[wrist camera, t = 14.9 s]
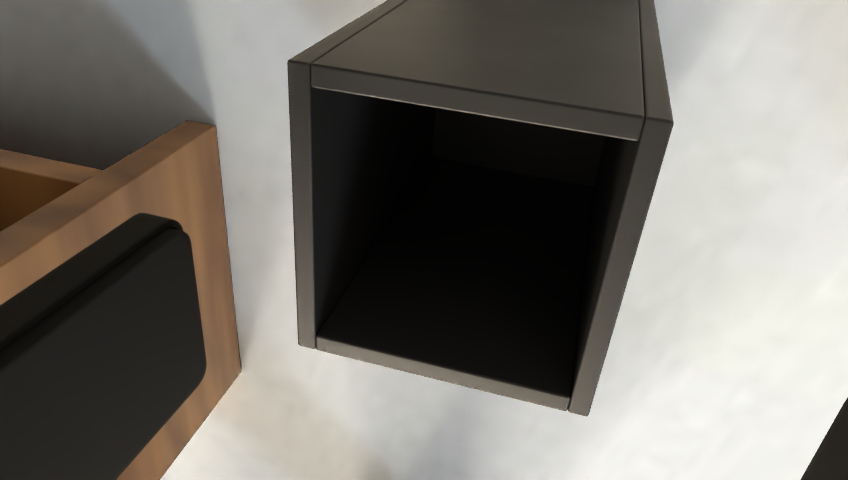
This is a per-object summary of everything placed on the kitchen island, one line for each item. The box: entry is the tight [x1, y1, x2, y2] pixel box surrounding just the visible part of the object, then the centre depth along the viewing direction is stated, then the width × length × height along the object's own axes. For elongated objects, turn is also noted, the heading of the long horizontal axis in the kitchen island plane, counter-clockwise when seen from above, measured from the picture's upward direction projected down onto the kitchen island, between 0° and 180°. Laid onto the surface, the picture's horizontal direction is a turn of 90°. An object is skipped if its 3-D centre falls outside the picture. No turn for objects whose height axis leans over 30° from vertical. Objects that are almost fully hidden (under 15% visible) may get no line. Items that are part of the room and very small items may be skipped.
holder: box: [288, 0, 673, 416], centre depth 16 cm, size 6×6×10 cm
